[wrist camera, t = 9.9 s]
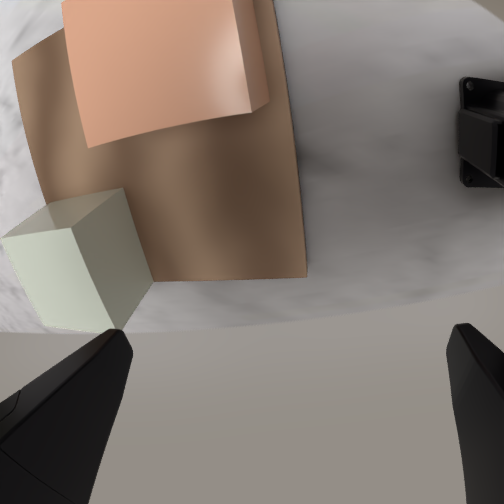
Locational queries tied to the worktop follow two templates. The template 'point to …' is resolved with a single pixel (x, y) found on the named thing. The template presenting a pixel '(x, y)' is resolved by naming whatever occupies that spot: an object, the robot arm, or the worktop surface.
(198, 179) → the walnut board
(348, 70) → the worktop surface
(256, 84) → the salmon foam cube
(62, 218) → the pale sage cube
